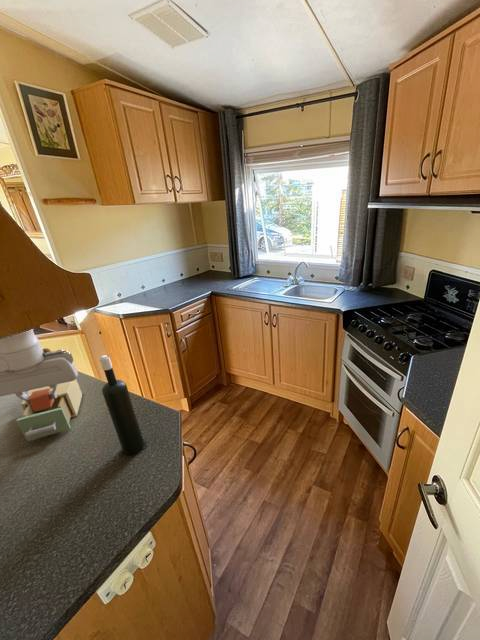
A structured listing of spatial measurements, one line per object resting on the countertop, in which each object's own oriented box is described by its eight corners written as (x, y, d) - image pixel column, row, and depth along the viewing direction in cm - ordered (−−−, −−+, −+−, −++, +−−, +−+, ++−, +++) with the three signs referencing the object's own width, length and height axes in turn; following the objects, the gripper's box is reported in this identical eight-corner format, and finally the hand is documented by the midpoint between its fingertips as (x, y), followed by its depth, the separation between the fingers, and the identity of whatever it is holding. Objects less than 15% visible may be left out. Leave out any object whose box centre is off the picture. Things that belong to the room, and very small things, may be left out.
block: (34, 411, 79) (28, 399, 77) (38, 403, 82) (32, 391, 81) (51, 407, 80) (46, 395, 79) (54, 399, 84) (49, 388, 82)
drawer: (67, 437, 89) (58, 417, 85) (22, 450, 84) (11, 429, 81) (76, 406, 103) (68, 387, 100) (38, 415, 99) (29, 397, 96)
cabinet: (76, 416, 100) (67, 392, 96) (33, 427, 95) (20, 403, 91) (82, 394, 112) (73, 373, 108) (43, 404, 107) (33, 382, 103)
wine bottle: (125, 458, 81) (91, 364, 68) (121, 446, 85) (89, 355, 73) (146, 449, 84) (118, 357, 71) (142, 437, 88) (114, 349, 75)
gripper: (71, 343, 81) (86, 385, 87) (-22, 360, 74) (1, 404, 80) (67, 352, 76) (83, 396, 82) (-33, 371, 69) (-8, 417, 74)
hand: (42, 400), depth 81 cm, fingers closed on block, 4 cm apart
